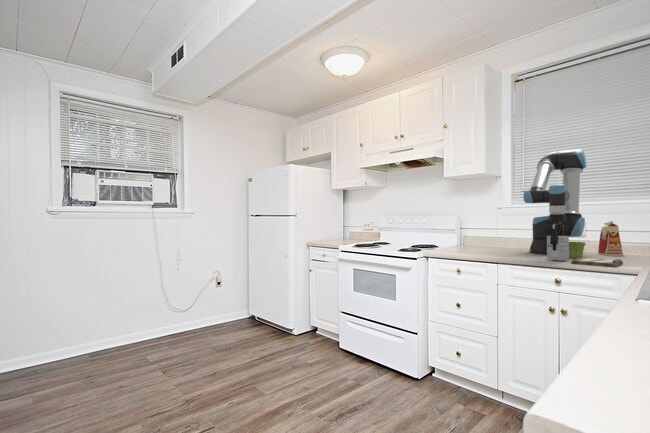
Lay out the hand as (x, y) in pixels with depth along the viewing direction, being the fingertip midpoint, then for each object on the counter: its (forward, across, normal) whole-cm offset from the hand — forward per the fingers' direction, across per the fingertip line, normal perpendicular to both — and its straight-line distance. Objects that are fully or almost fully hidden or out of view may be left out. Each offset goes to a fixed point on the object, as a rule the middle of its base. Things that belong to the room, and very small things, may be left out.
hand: (557, 255), depth 193 cm
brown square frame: (+3, 0, -17) cm, 17 cm away
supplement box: (+2, 0, 0) cm, 2 cm away
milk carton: (+3, +44, -15) cm, 46 cm away
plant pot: (+3, +18, -4) cm, 18 cm away
